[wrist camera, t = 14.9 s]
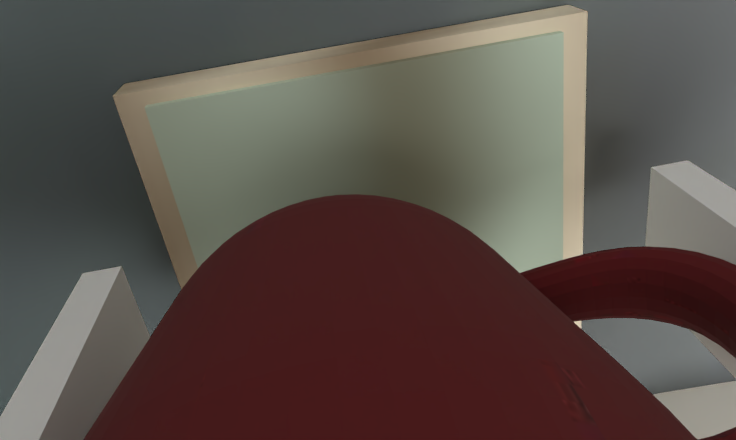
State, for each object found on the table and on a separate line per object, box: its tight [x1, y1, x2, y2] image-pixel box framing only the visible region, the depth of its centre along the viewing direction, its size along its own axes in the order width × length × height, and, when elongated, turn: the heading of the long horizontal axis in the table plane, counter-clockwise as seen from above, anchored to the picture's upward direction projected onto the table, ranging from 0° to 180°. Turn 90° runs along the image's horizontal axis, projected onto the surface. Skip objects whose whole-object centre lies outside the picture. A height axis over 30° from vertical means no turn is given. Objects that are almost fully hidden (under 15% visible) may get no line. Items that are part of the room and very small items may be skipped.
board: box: [113, 5, 588, 328], centre depth 17 cm, size 10×16×1 cm, turn 9°
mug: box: [83, 194, 736, 440], centre depth 9 cm, size 10×8×10 cm
